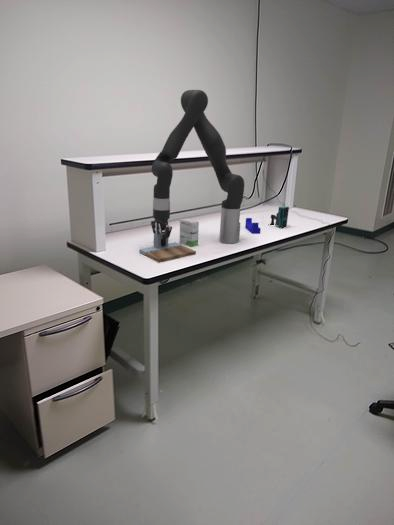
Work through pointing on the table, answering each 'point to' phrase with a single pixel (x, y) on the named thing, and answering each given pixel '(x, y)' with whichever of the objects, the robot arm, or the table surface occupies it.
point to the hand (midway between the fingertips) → (161, 244)
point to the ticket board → (170, 253)
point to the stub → (158, 245)
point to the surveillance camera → (280, 217)
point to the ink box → (189, 232)
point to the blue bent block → (252, 226)
